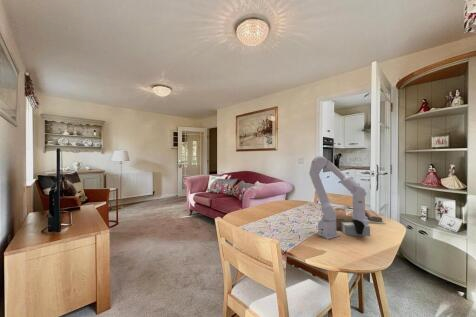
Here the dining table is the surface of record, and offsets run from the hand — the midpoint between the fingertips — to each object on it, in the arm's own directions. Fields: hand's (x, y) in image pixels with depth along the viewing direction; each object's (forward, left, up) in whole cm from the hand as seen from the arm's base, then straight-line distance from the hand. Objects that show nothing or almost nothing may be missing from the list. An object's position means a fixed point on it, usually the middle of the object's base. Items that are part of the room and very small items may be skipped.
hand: (359, 234), depth 112 cm
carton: (+3, +5, -2) cm, 6 cm away
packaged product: (+34, +14, -2) cm, 37 cm away
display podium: (+6, +11, -1) cm, 12 cm away
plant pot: (+16, +25, -1) cm, 30 cm away
